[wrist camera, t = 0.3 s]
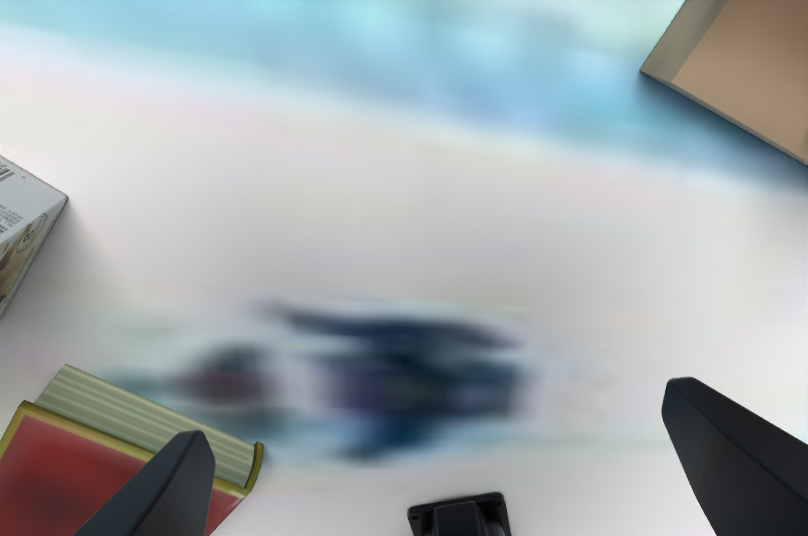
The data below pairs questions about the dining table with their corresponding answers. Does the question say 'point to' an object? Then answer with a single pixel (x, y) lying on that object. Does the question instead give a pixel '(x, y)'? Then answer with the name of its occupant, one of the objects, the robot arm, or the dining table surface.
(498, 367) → the dining table surface
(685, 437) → the robot arm
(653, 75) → the stand
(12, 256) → the coffee box
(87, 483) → the hardcover book
